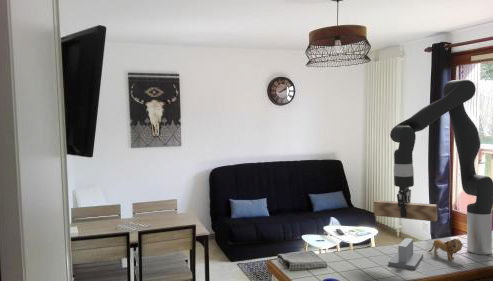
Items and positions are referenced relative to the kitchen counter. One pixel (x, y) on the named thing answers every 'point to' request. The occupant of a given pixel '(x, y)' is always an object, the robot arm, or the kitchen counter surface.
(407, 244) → the ridge stand
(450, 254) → the lion figurine
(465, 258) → the kitchen counter surface
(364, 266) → the kitchen counter surface
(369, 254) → the kitchen counter surface
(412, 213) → the walnut bar
